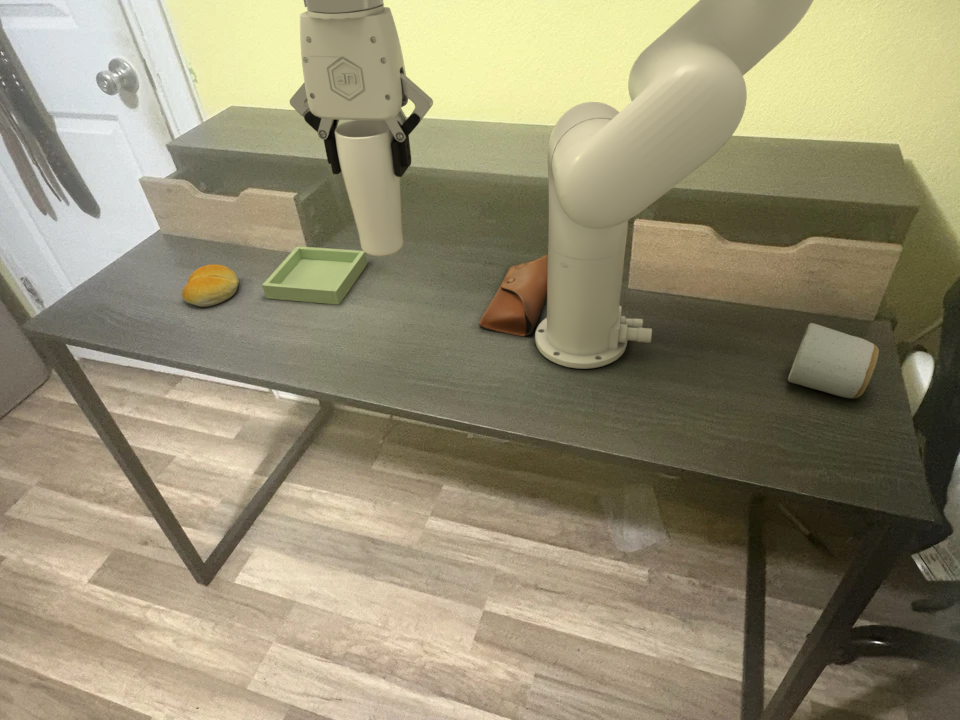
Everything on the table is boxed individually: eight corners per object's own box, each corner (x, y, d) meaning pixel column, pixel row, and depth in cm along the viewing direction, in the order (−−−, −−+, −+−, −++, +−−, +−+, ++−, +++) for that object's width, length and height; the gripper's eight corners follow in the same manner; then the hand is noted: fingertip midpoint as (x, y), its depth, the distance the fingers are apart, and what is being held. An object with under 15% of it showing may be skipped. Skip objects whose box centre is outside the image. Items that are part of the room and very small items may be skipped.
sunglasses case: (508, 264, 104) (528, 234, 100) (543, 286, 105) (565, 258, 100) (475, 327, 91) (497, 296, 86) (517, 352, 92) (540, 323, 87)
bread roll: (179, 311, 99) (170, 289, 97) (196, 280, 106) (188, 260, 104) (232, 306, 100) (224, 285, 97) (245, 277, 106) (238, 256, 104)
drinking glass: (401, 262, 76) (384, 138, 67) (348, 259, 77) (324, 137, 68) (415, 236, 81) (402, 117, 72) (365, 233, 82) (345, 116, 73)
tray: (367, 263, 108) (365, 250, 106) (339, 304, 98) (336, 291, 97) (300, 258, 110) (296, 246, 109) (265, 298, 101) (261, 285, 99)
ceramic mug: (857, 414, 74) (880, 362, 70) (783, 393, 78) (800, 343, 73) (865, 364, 81) (886, 314, 77) (797, 346, 85) (813, 298, 80)
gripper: (244, 3, 61) (287, 181, 72) (419, 2, 58) (435, 187, 69) (278, -11, 66) (313, 156, 78) (439, -13, 63) (451, 161, 74)
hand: (370, 169), depth 73 cm, fingers closed on drinking glass, 6 cm apart
